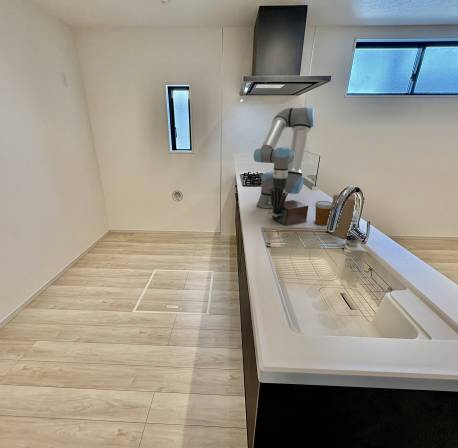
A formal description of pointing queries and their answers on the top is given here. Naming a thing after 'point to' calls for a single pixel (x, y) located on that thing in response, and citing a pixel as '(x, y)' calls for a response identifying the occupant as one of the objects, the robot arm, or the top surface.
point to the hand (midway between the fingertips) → (275, 218)
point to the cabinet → (295, 212)
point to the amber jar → (322, 212)
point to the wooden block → (344, 216)
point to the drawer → (280, 215)
